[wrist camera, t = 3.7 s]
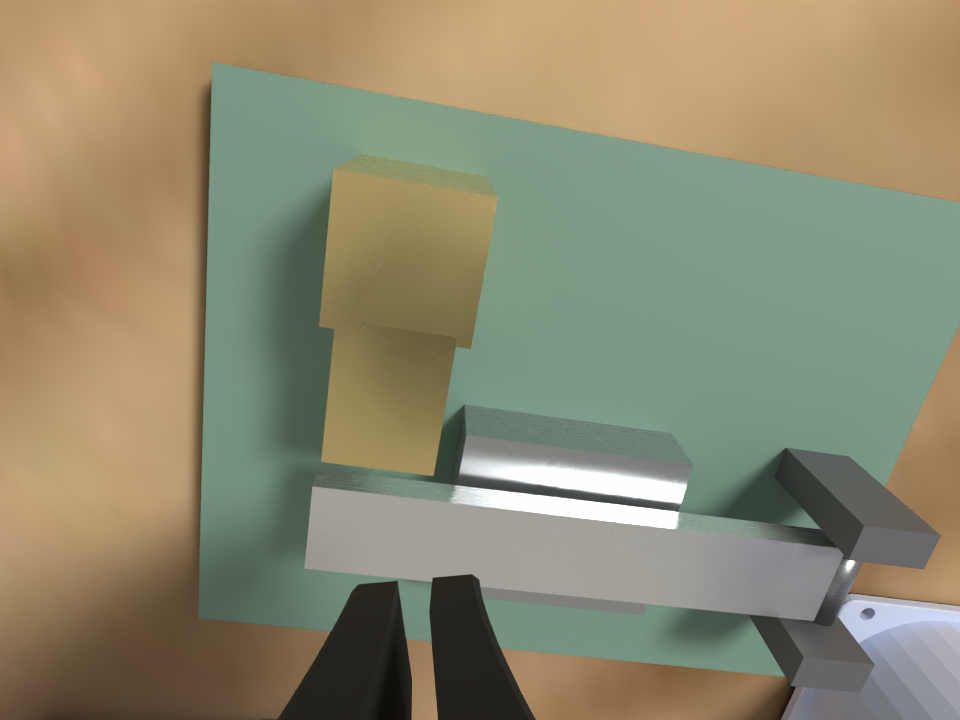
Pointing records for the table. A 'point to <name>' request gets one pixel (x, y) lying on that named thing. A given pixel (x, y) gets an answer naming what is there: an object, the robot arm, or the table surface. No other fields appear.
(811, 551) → the silver long flat bar
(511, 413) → the brushed aluminum block
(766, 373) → the board
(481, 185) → the tan stepped block
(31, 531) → the table surface
